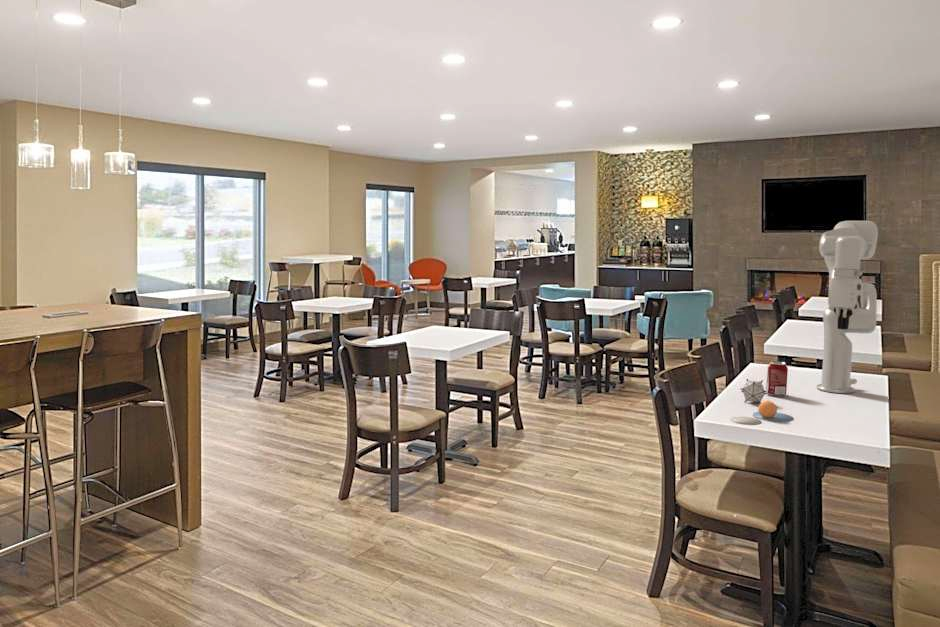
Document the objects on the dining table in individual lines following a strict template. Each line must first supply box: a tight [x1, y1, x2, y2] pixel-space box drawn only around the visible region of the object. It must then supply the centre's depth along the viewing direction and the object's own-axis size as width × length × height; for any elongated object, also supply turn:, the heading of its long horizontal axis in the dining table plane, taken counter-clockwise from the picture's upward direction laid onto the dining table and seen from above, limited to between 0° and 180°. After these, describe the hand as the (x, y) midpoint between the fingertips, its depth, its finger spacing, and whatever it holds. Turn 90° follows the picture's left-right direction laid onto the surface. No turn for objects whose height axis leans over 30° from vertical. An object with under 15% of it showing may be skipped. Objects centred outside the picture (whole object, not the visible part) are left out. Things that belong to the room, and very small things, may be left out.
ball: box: [757, 400, 778, 418], centre depth 228 cm, size 6×6×6 cm
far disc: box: [730, 416, 762, 426], centre depth 225 cm, size 9×9×1 cm
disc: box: [752, 411, 794, 423], centre depth 230 cm, size 12×12×1 cm
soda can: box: [765, 360, 789, 397], centre depth 261 cm, size 7×7×12 cm
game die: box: [740, 378, 768, 405], centre depth 249 cm, size 9×8×10 cm
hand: (842, 328), depth 241 cm, fingers closed
